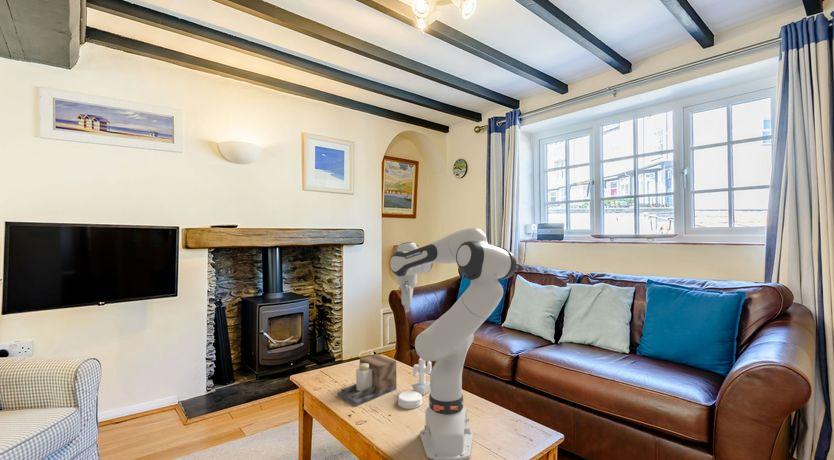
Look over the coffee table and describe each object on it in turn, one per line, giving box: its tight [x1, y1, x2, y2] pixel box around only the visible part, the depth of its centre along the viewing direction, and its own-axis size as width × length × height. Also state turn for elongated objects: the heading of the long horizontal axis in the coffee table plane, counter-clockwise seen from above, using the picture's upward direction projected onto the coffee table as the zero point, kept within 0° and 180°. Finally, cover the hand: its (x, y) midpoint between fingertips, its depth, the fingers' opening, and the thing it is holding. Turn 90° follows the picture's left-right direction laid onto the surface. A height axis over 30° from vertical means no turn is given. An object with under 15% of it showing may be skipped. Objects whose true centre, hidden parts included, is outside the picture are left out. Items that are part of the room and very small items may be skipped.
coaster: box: [397, 390, 423, 410], centre depth 157 cm, size 10×10×4 cm
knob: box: [355, 363, 372, 391], centre depth 166 cm, size 5×5×11 cm
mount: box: [336, 353, 397, 407], centre depth 168 cm, size 22×14×13 cm, turn 136°
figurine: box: [410, 357, 433, 396], centre depth 168 cm, size 7×9×15 cm
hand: (407, 311), depth 163 cm, fingers closed
